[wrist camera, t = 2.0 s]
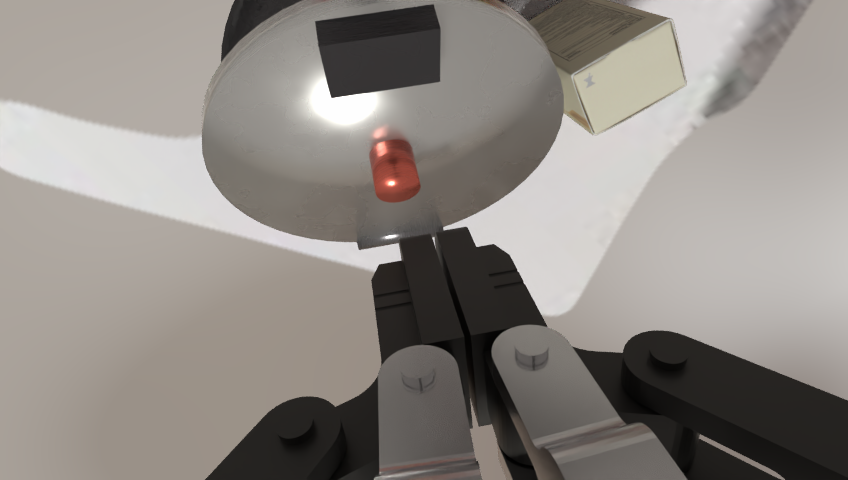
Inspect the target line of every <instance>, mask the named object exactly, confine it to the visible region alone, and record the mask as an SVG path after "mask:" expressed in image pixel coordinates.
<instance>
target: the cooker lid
mask: <svg viewBox="0 0 848 480" xmlns="http://www.w3.org/2000/svg"><path fill="white" fill-rule="evenodd" d="M563 112H564V94H563V88H562V83H561V79H560V77H559V74H558V72H557V70H556V67H555V65H554V62H553V60H552V58H551V55H550V53H549V51H548V48H547V46H546V44H545V42H544V41H543V39H542V38H541V36H540V35H539V34H538V32H537V31H536V29H535V28H534V27H533V26H532V25H531V24H530V23H529V22H528V21H527V20H526V19H525V18H524V17H523V16H522V15H520V14H519V13H518V12H516V11H515V10H513V9H512V8H510V7H509V6H507V5H506V4H504V3H503V2H501V1H499V0H302V1H300V2H298V3H295V4H293V5H291V6H289V7H287V8H285V9H283V10H281V11H279V12H278V13H276V14H275V15H273V16H271V17H270V18H268V19H267V20H265V21H264V22H262V23H260V24H259V25H258V26H257V27H255V28H254V29H253V30H252V31H251V32H249V33H248V34H247V35H246V36H245V37H243V38H242V39H241V40H240V41H239V42H238V43H237V44H236V45H235V46H234V48H233V49H232V50H231V51H230V52H229V53H228V54H227V56H226V57H225V58H224V59H223V61H222V62H221V64H220V66H219V67H218V69H217V70H216V72H215V74H214V75H213V77H212V79H211V82H210V84H209V87H208V90H207V92H206V95H205V99H204V105H203V112H202V151H203V157H204V161H205V165H206V168H207V171H208V173H209V175H210V177H211V179H212V181H213V183H214V184H215V185H216V187H217V188H218V189H219V191H220V192H221V193H222V195H223V196H224V197H225V198H226V199H227V200H228V201H229V202H230V203H231V204H233V205H234V206H235V207H236V208H237V209H239V210H240V211H242V212H243V213H244V214H246V215H247V216H249V217H251V218H253V219H254V220H256V221H258V222H260V223H262V224H264V225H267V226H269V227H271V228H274V229H276V230H279V231H282V232H286V233H289V234H292V235H296V236H301V237H305V238H310V239H317V240H325V241H336V242H357V244H358V248H359V250H362V249H368V248H373V247H379V246H385V245H390V244H396V243H399V239H400V238H405V237H411V236H417V235H423V234H428V233H430V234H431V236H432V237H435V232H439V231H443V227H445V226H447V225H450V224H453V223H456V222H458V221H460V220H463V219H465V218H467V217H470V216H472V215H474V214H476V213H478V212H479V211H481V210H483V209H485V208H487V207H489V206H490V205H492V204H494V203H495V202H497V201H499V200H500V199H501V198H503V197H504V196H506V195H507V194H508V193H510V192H511V191H513V190H514V189H515V188H516V187H517V186H519V185H520V184H521V183H522V182H523V181H524V180H525V179H527V177H528V176H529V175H530V174H531V173H532V172H533V171H534V170H535V169H536V168H537V167H538V166H539V164H540V163H541V162H542V160H543V159H544V158H545V156H546V155H547V153H548V152H549V150H550V148H551V147H552V145H553V143H554V141H555V139H556V136H557V134H558V131H559V129H560V126H561V122H562V117H563Z"/></svg>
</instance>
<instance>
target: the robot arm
mask: <svg viewBox="0 0 848 480" xmlns="http://www.w3.org/2000/svg"><path fill="white" fill-rule="evenodd" d="M435 246H436V249H435ZM435 246H434V242H433V239H432V236H431V234H430V233H428V234H423V235H417V236H411V237H405V238H400V239H399V247H400V253H401V259H402V261H397V262H391V263H385V264H380V265H379V266H378V268H377V270H376V272H375V274H374V276H373V278H372V280H371V281H372V288H373V296H374V304H375V311H376V320H377V328H378V336H379V344H380V352H381V360H382V361H381V363H382V364H381V368H380V371H379V373H378V377H377V378H376V380H375V381H374V382H373V384H372V385H371V386H370V387H369V388H368V389H367V390H366V391H365V392H363V393H362V394H360V395H359V396H357V397H355V398H353V399H351V400H349V401H347V402H345V403H343V404H341V405H339V406H337V407H335V406H334V405H333V404H331V403H330V402H329V401H327V400H324V399H322V398H318V397H299V398H295V399H292V400H289V401H286V402H284V403H282V404H280V405H278V406H276V407H275V408H274V409H272V410H271V411H270V412H268V413H267V415H265V416H264V417H263V418H262V419H261V421H260V422H259V423H258V424H257V425H256V426H255V427H254V428H253V429H252V430H251V431H250V432H249V433H248V434H247V436H246V437H245V438H244V439H243V440H242V441H241V442H240V443H239V444H238V445H237V446H236V447H235V448H234V449H233V450H232V452H231V453H230V454H229V455H228V456H227V457H226V458H225V459H224V460H223V461H222V462H221V463H220V464H219V465H218V467H217V468H216V469H215V470H214V471H213V472H212V473H211V474H210V475H209V476H208V477H207V478H206V479H205V480H482V477H481V472H480V467H479V464H478V461H476V458H475V454H474V449H473V443H472V438H471V433H470V429H471V428H473V426H472V415H471V405H470V399H471V402H472V405H473V408H474V412H475V415H476V418H477V422H478V426H484V425H489V424H492V425H493V429H494V432H495V435H496V438H497V449H498V459H499V462H500V465H501V467H502V470H503V472H504V475H505V477H506V480H781V479H778V478H776V477H774V476H772V475H770V474H768V473H766V472H764V471H762V470H760V469H758V468H756V467H754V466H752V465H750V464H748V463H746V462H744V461H742V460H740V459H738V458H736V457H734V456H732V455H730V454H728V453H726V452H724V451H722V450H720V449H718V448H716V447H714V446H712V445H710V444H709V443H707V442H705V441H703V440H701V439H699V435H700V434H701V435H703V436H705V437H707V438H709V439H711V440H714V441H716V442H717V443H720V444H721V445H723V446H726V447H728V448H730V449H732V450H734V451H736V452H738V453H740V454H742V455H744V456H746V457H748V458H750V459H752V460H754V461H756V462H758V463H760V464H762V465H764V466H766V467H768V468H770V469H771V470H773V471H775V472H777V473H778V474H779V475H781V476H782V477H783V478H784V479H785V480H848V401H847V400H845V399H842V398H840V397H837V396H835V395H832V394H830V393H827V392H825V391H822V390H820V389H817V388H815V387H812V386H810V385H807V384H805V383H802V382H800V381H797V380H795V379H792V378H790V377H787V376H785V375H782V374H780V373H777V372H775V371H772V370H770V369H767V368H765V367H762V366H759V365H757V364H754V363H752V362H750V361H747V360H745V359H742V358H739V357H737V356H735V355H732V354H729V353H727V352H724V351H722V350H719V349H717V348H714V347H712V346H709V345H707V344H704V343H702V342H699V341H697V340H694V339H692V338H689V337H687V336H684V335H681V334H678V333H674V332H669V331H648V332H643V333H640V334H638V335H635V336H634V337H632V338H631V339H630V340H629V341H628V342H627V343H626V345H625V347H624V350H623V353H613V352H595V351H587V350H582V349H578V348H575V347H572V346H571V344H570V343H569V341H568V340H567V339H566V338H565V337H564V336H563V335H562V334H560V333H559V332H557V331H555V330H553V329H550V328H548V327H547V325H546V323H545V321H544V319H543V317H542V315H541V314H540V312H539V310H538V308H537V306H536V304H535V302H534V300H533V298H532V297H531V295H530V293H529V291H528V289H527V287H526V285H525V284H524V283H523V280H522V278H521V276H520V274H519V272H517V268H516V266H515V264H514V263H513V261H512V259H511V257H510V255H509V254H507V253H506V252H504V251H503V250H502V249H500V248H499V247H497V246H496V245H494V244H492V245H486V246H481V247H476V245H475V243H474V241H473V239H472V236H471V234H470V232H469V230H468V228H467V227H462V228H456V229H451V230H445V231H439V232H435Z"/></svg>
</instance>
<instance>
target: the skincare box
mask: <svg viewBox="0 0 848 480" xmlns="http://www.w3.org/2000/svg"><path fill="white" fill-rule="evenodd" d="M528 22H529V23H530V24H531V25H532V26H533V27H534V28H535V29H536V31H537V32H538V34H539V35H540V36H541V38H542V39H543V41H544V42H545V44H546V46H547V48H548V51H549V53H550V55H551V58H552V60H553V62H554V65H555V67H556V70H557V72H558V74H559V77H560V79H561V83H562V88H563V94H564V112H563V113H565V114H566V115H567V116H568V117H570V118H571V119H572V120H574V121H575V122H576V123H578V124H579V125H580V126H582V127H583V128H584V129H585V130H587V131H588V132H589V133H591V134H592V135H594V136H596V135H598V134H600V133H603V132H605V131H607V130H609V129H611V128H613V127H615V126H616V125H618V124H620V123H622V122H624V121H626V120H628V119H629V118H631V117H633V116H635V115H637V114H638V113H640V112H642V111H644V110H645V109H647V108H649V107H651V106H653V105H654V104H656V103H658V102H660V101H661V100H663V99H665V98H666V97H668V96H670V95H671V94H673V93H675V92H676V91H678V90H680V89H681V88H683V87H685V86H686V85H687V81H686V77H685V72H684V67H683V62H682V56H681V52H680V48H679V43H678V38H677V34H676V30H675V26H674V22H673V20H672V19H670V18H667V17H663V16H660V15H656V14H652V13H649V12H646V11H642V10H639V9H635V8H632V7H628V6H625V5H621V4H618V3H614V2H610V1H607V0H564V1H562V2H560V3H558V4H556V5H555V6H553V7H551V8H549V9H548V10H546V11H544V12H543V13H541V14H539V15H538V16H536V17H534V18H533V19H531V20H529V21H528Z"/></svg>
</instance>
